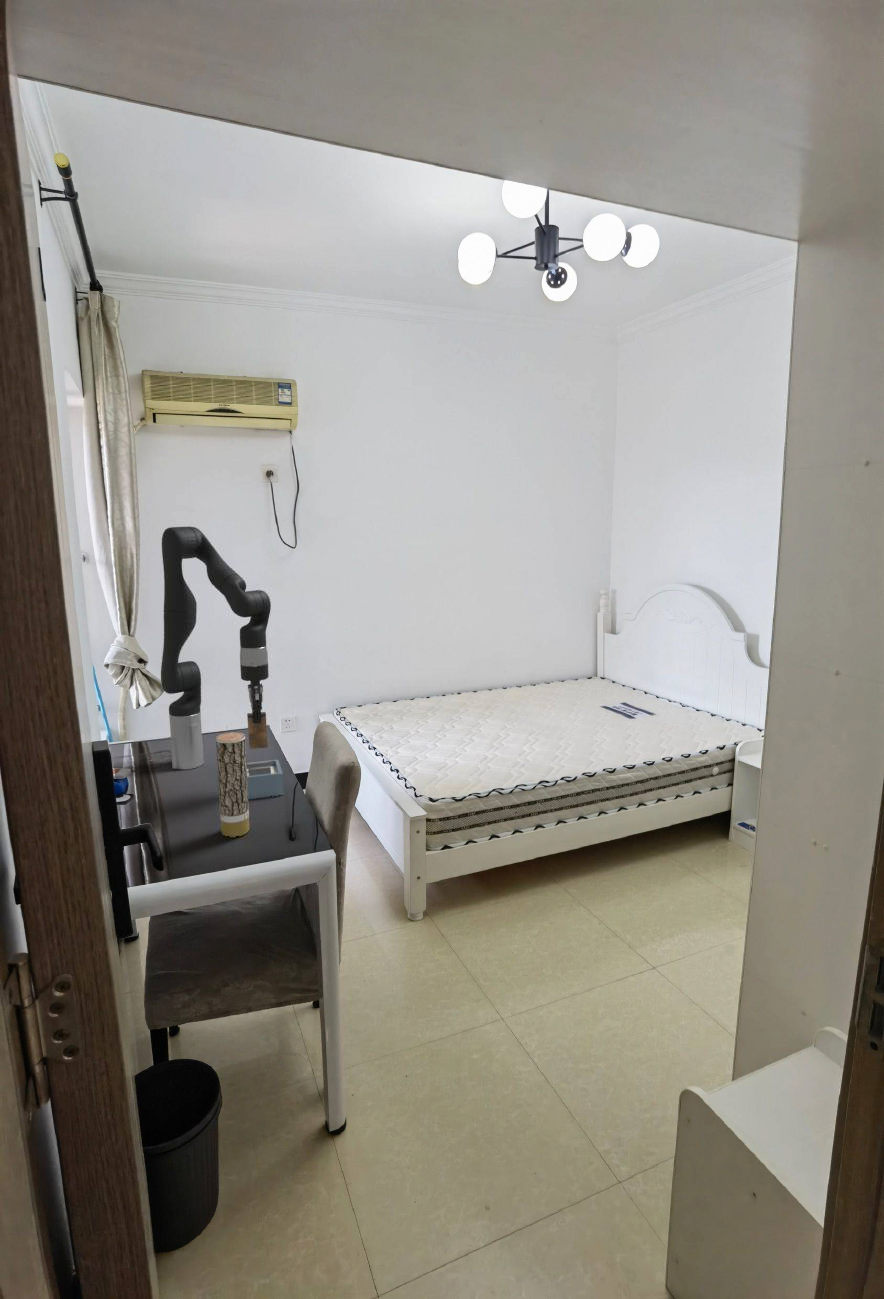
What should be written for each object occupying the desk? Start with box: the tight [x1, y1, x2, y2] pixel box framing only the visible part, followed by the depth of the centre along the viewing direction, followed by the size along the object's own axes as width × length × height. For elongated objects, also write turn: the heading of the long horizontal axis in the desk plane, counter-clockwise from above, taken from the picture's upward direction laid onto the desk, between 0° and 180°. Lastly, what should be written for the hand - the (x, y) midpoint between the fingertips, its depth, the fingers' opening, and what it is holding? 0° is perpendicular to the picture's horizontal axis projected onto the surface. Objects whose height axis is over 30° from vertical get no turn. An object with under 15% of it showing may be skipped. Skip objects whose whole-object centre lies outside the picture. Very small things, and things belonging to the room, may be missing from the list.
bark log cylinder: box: [215, 732, 250, 838], centre depth 169 cm, size 7×7×25 cm
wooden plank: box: [246, 711, 269, 750], centre depth 194 cm, size 5×2×10 cm, turn 109°
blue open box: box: [246, 759, 284, 800], centre depth 197 cm, size 12×12×8 cm
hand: (256, 721), depth 194 cm, fingers closed on wooden plank, 2 cm apart
